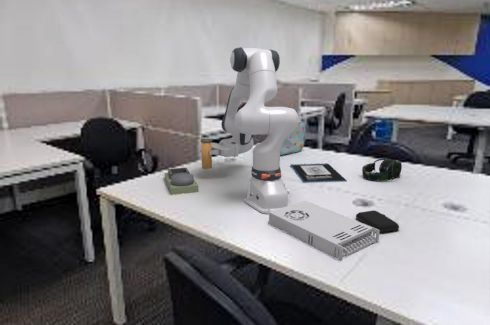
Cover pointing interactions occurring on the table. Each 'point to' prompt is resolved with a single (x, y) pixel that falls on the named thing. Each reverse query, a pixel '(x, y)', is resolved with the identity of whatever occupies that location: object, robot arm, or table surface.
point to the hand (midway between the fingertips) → (205, 151)
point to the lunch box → (294, 140)
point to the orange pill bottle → (206, 153)
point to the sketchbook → (317, 173)
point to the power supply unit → (324, 228)
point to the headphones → (382, 170)
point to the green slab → (180, 181)
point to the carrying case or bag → (377, 221)
